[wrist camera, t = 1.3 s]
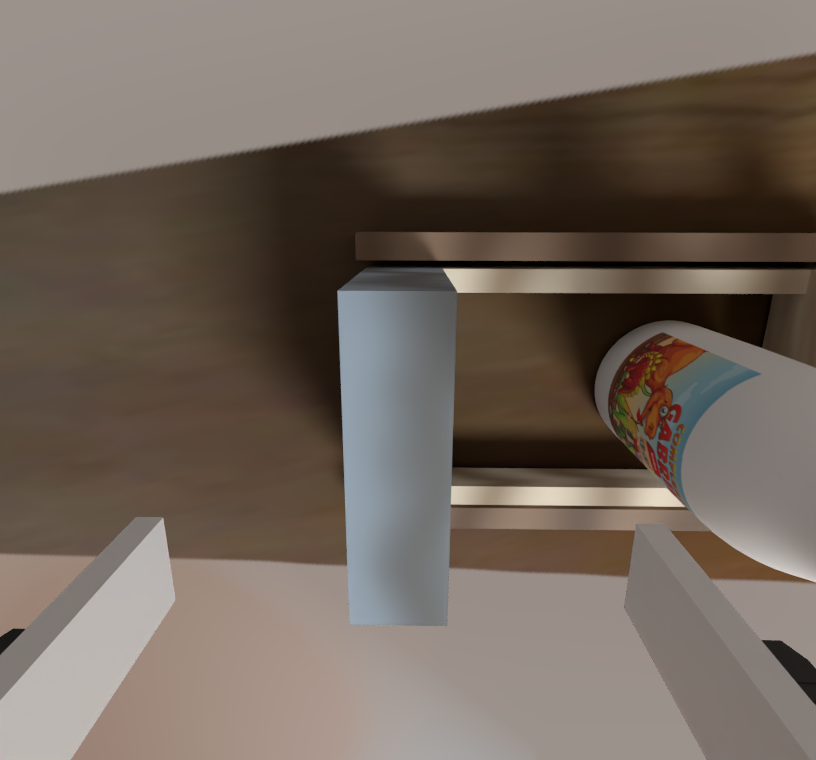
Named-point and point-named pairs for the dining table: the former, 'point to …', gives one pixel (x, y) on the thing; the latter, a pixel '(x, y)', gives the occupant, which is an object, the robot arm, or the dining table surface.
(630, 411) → the milk bottle
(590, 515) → the dark wooden tray
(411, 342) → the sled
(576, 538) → the dining table surface
